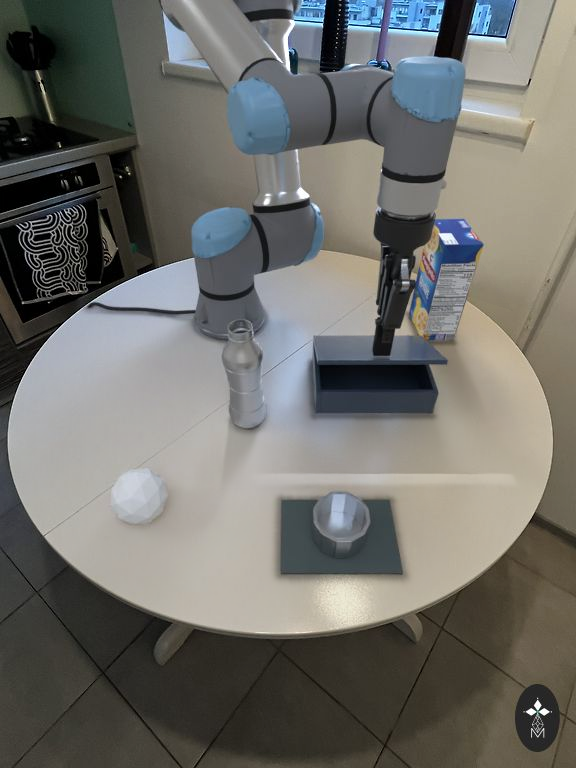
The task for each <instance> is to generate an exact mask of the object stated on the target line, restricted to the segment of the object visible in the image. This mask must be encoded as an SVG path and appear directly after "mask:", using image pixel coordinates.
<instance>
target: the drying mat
mask: <svg viewBox="0 0 576 768" xmlns="http://www.w3.org/2000/svg"><path fill="white" fill-rule="evenodd" d="M318 500H319V499H281V516H280V517H281V519H280V533H281V534H280V575H403V574H404V570H403V565H402V559H401V554H400V548H399V543H398V539H397V537H398V536H397V532H396V526H395V522H394V517H393V511H392V506H391V501H390V499H361V500H362V501H363V502H364V504H365V505H366V506H367V508H368V509H369V515H370V526H369V531H368V535H367V539H366V541H365V543H364V546H363V548H362V550H361V551H360V552H358V553H357V554H355V555H353V556H352V557H350V558H349V557H348V558H332V557H331V556H328V555H327V554H325V553H323V552H321V551H320V550H319V548H318V547H317V545H316V544H315V542H314V541H313V538H312V519H313V508H314V507H315V505H316V503H317V502H318Z"/></svg>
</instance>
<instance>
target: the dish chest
mask: <svg viewBox="0 0 576 768" xmlns="http://www.w3.org/2000/svg"><path fill="white" fill-rule="evenodd" d="M311 363H312V364H311V365H312V380H313V381H312V382H313V398H314V413H315V414H433V412H434V410H435V407H436V403H437V400H438V397H439V394H440V392H439V389H438V386H437V382H436V380H435V377H434V374H433V372H432V368H431V365H318V362H317V357H316V352H315V346H314V341H313V340H312V354H311Z"/></svg>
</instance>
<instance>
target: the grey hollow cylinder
mask: <svg viewBox="0 0 576 768" xmlns="http://www.w3.org/2000/svg"><path fill="white" fill-rule="evenodd" d="M317 500H318V502H317V503H316V505H315V507H314V508H313V519H312V538H313V541H314V542H315V544H316V545H317V547H318V548H319V550H320V551H321V552H323V553H325V554H327V555H328V556H331V557H332V558H348V557H349V558H350V557H352V556H353V555H355V554H357V553H358V552H360V551H361V550H362V548H363V546H364V543H365V541H366V539H367V535H368V531H369V526H370V515H369V509H368V508H367V506H366V505H365V504H364V502H363V501H362V500H363V499H361V498H360V497H359V496H357V495H355V494H353V493H351V492H350V491H349V492H348V491H343V490H341V491H334V490H333V491H330V492H328V493H326V494H324V495H323V496H320V497H319V498H318V499H317Z"/></svg>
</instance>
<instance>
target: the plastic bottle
mask: <svg viewBox="0 0 576 768" xmlns="http://www.w3.org/2000/svg"><path fill="white" fill-rule="evenodd" d="M254 336H255V333H253V327H252V323H251V322H250V321H248V320H245V319H238V320H234V321H232V322H231V323H230V324H229V325H228V339H229V340H227V342H226V343H225V345H224V347H223V348H222V352H221V361H222V365H223V368H224V371H225V374H226V379H227V382H228V387H229V402H228V414H229V417H230V420H231V422H232V423H234V425H235V426H238V427H239V428H241V429H252V428H256V427H257V426H258V425H260V424H261V423H263V422H264V420H265V418H266V414H267V409H268V408H267V407H268V406H267V402H266V398H265V395H264V392H263V386H262V370H263V362H264V361H263V360H264V352H263V349H262V346H261V345H260V343H259V341H257V340H256V339H255V338H254Z"/></svg>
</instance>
